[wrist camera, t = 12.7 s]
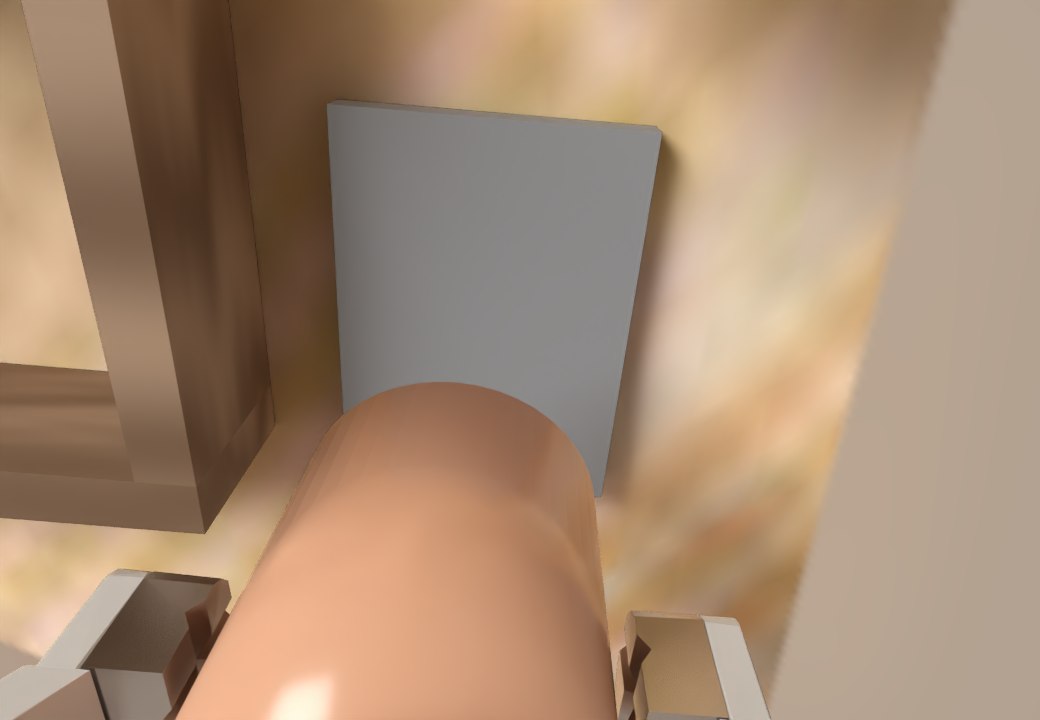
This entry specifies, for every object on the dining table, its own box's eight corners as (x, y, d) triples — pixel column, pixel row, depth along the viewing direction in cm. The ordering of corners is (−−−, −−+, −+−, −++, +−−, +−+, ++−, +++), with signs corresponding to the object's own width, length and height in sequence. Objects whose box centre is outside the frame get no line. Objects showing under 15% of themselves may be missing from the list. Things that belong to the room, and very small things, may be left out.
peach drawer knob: (265, 338, 11) (-275, 966, 4) (649, 372, 11) (852, 1052, 4) (292, 614, 14) (17, 1269, 6) (596, 639, 14) (655, 1316, 7)
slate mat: (338, 99, 17) (326, 103, 16) (656, 126, 17) (662, 132, 16) (354, 457, 22) (346, 476, 21) (598, 477, 22) (600, 497, 21)
